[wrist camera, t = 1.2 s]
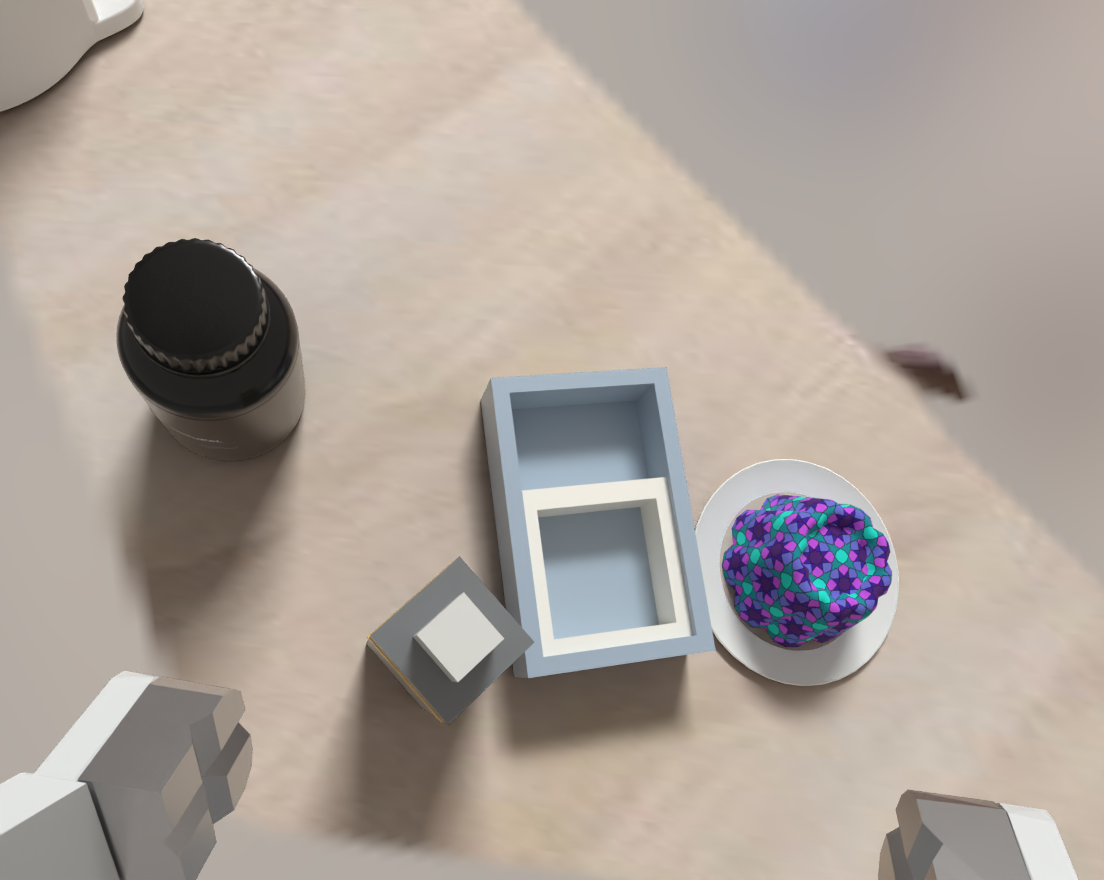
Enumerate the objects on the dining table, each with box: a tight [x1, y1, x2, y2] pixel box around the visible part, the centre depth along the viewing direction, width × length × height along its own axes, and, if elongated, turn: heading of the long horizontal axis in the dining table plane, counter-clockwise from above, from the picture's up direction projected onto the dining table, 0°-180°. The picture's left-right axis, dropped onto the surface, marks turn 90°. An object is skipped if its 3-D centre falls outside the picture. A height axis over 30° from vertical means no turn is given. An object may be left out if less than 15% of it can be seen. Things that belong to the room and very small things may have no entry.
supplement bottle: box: [117, 238, 305, 461], centre depth 36 cm, size 7×7×12 cm
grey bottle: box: [366, 556, 534, 725], centre depth 34 cm, size 4×4×14 cm
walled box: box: [481, 367, 715, 678], centre depth 42 cm, size 14×9×4 cm, turn 8°
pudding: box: [695, 459, 899, 686], centre depth 44 cm, size 12×12×5 cm
